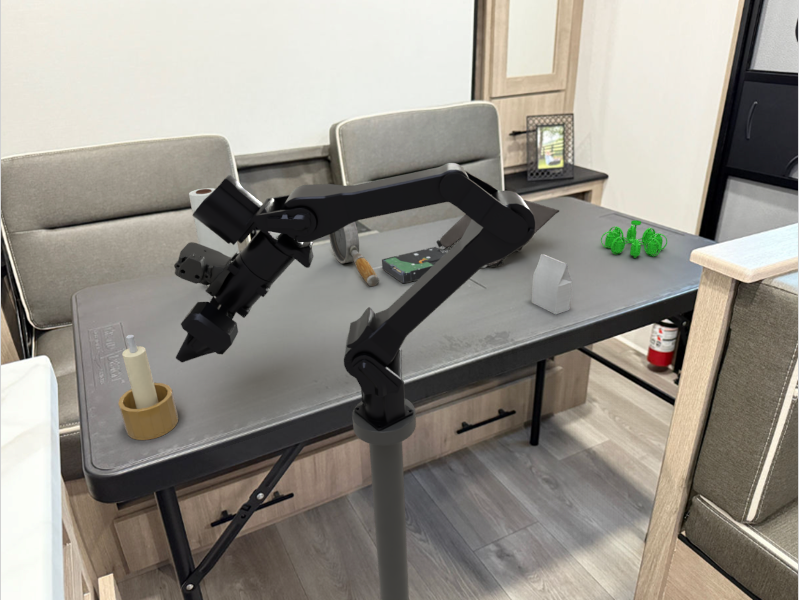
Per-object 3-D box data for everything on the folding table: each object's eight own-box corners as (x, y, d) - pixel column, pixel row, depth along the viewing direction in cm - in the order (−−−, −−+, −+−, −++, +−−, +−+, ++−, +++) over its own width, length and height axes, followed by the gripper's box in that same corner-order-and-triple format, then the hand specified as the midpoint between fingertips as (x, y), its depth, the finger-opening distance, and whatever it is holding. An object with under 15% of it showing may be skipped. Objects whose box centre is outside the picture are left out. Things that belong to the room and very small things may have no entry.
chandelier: (661, 240, 151) (665, 213, 148) (670, 262, 138) (675, 233, 135) (598, 237, 154) (601, 211, 151) (601, 258, 141) (604, 230, 138)
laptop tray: (441, 264, 157) (427, 238, 152) (501, 211, 163) (491, 183, 157) (501, 293, 139) (488, 265, 134) (566, 232, 145) (557, 202, 140)
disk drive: (434, 257, 146) (381, 269, 140) (434, 246, 145) (380, 258, 139) (459, 270, 138) (403, 284, 132) (459, 259, 137) (403, 272, 131)
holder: (185, 426, 88) (178, 397, 86) (134, 447, 84) (126, 417, 82) (168, 404, 94) (162, 377, 91) (120, 423, 90) (112, 395, 88)
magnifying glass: (382, 256, 127) (340, 197, 144) (368, 258, 126) (327, 199, 143) (378, 303, 135) (338, 242, 152) (365, 306, 134) (327, 244, 151)
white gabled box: (555, 314, 116) (559, 266, 112) (531, 302, 122) (534, 256, 117) (569, 309, 118) (573, 262, 114) (545, 297, 123) (548, 251, 119)
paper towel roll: (200, 286, 135) (182, 193, 126) (218, 276, 140) (202, 186, 131) (226, 291, 132) (209, 196, 123) (243, 281, 137) (228, 188, 128)
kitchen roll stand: (169, 413, 91) (149, 328, 84) (161, 429, 87) (139, 342, 81) (142, 414, 90) (120, 330, 84) (133, 431, 87) (109, 344, 81)
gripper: (227, 204, 84) (164, 279, 89) (183, 251, 67) (109, 340, 72) (289, 254, 88) (225, 324, 92) (262, 312, 71) (186, 393, 76)
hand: (190, 342), depth 83 cm, fingers open, 9 cm apart
